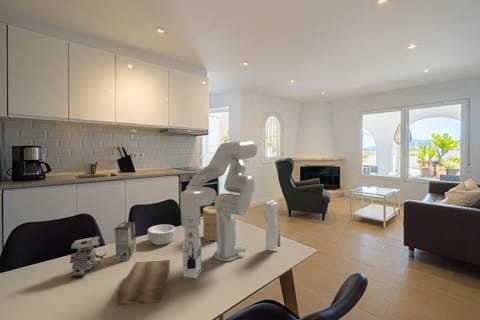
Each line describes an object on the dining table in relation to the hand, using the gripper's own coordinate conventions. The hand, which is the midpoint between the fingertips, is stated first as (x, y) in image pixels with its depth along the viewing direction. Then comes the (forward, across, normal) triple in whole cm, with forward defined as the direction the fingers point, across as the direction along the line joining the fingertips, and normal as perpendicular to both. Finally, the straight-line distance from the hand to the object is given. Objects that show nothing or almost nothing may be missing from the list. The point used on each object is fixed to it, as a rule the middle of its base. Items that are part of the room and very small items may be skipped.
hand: (192, 262), depth 91 cm
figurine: (+7, +12, +46) cm, 48 cm away
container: (+9, +43, -9) cm, 45 cm away
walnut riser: (+7, -2, +18) cm, 19 cm away
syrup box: (+5, 0, 0) cm, 5 cm away
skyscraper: (+9, +23, -40) cm, 47 cm away
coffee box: (+8, +25, +35) cm, 43 cm away
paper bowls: (+8, +41, +21) cm, 47 cm away
